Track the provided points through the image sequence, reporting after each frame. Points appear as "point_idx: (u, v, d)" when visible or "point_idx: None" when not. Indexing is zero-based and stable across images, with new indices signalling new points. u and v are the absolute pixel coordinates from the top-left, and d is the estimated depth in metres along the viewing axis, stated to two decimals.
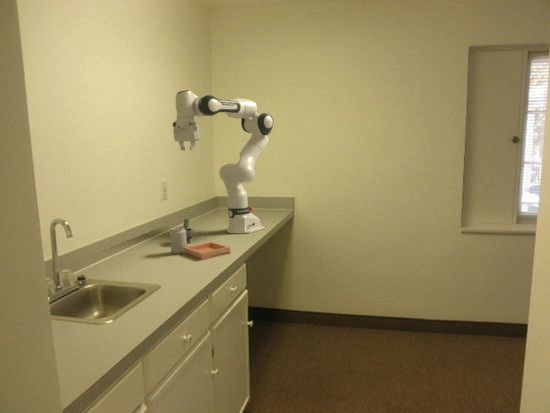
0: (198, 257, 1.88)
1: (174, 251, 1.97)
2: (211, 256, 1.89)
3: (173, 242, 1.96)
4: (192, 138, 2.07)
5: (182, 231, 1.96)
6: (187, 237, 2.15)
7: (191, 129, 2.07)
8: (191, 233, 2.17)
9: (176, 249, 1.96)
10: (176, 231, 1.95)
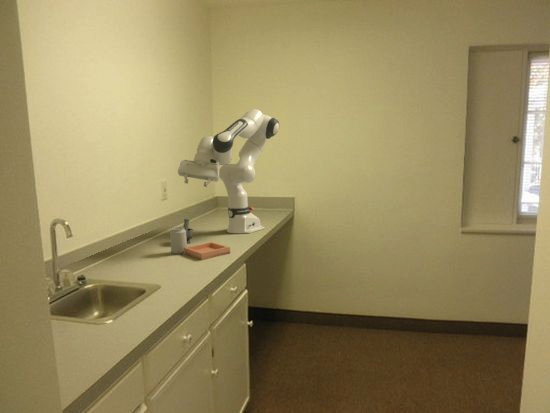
0: (198, 257, 1.88)
1: (174, 251, 1.97)
2: (211, 256, 1.89)
3: (173, 242, 1.96)
4: None
5: (182, 231, 1.96)
6: (187, 237, 2.15)
7: None
8: (191, 233, 2.17)
9: (176, 249, 1.96)
10: (176, 231, 1.95)
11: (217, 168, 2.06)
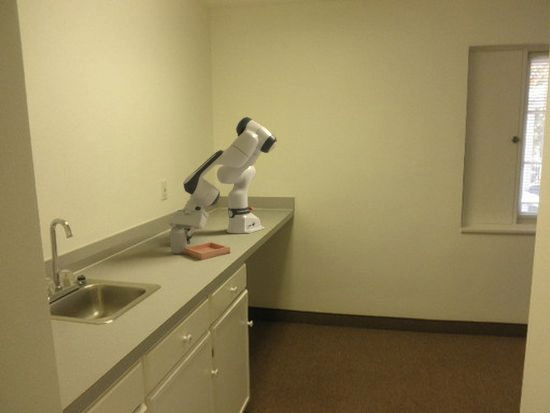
0: (198, 257, 1.88)
1: (174, 251, 1.97)
2: (211, 256, 1.89)
3: (173, 242, 1.96)
4: None
5: (182, 231, 1.96)
6: (187, 237, 2.15)
7: None
8: None
9: (176, 249, 1.96)
10: (176, 231, 1.95)
11: (200, 215, 1.99)
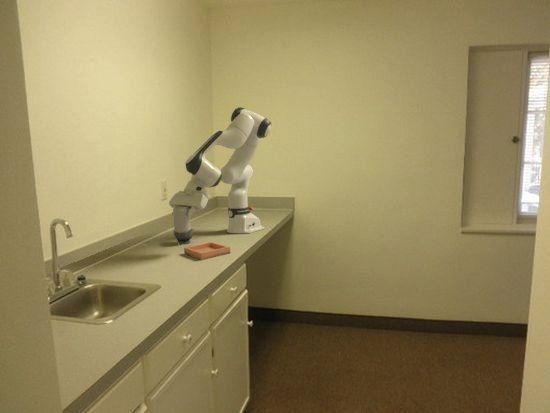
0: (198, 257, 1.88)
1: (177, 229, 1.94)
2: (211, 256, 1.89)
3: (176, 220, 1.94)
4: None
5: (185, 209, 1.94)
6: (187, 237, 2.15)
7: None
8: (191, 233, 2.17)
9: (179, 228, 1.94)
10: (179, 209, 1.93)
11: (201, 195, 1.95)
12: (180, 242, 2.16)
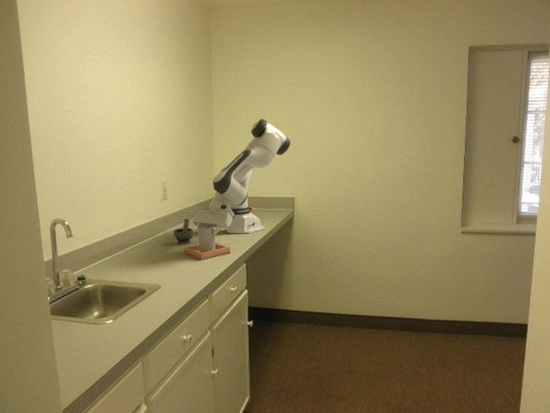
0: (198, 257, 1.88)
1: (202, 250, 1.93)
2: (211, 256, 1.89)
3: (202, 241, 1.92)
4: None
5: (211, 230, 1.92)
6: (187, 237, 2.15)
7: None
8: (191, 233, 2.17)
9: (205, 248, 1.92)
10: (205, 229, 1.91)
11: (226, 214, 1.94)
12: (180, 242, 2.16)
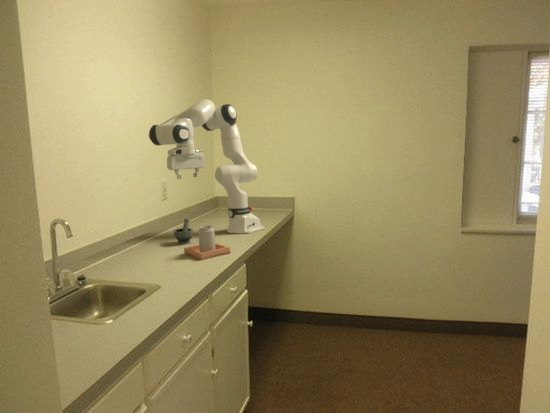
0: (198, 257, 1.88)
1: (202, 250, 1.93)
2: (211, 256, 1.89)
3: (202, 241, 1.92)
4: (203, 165, 2.16)
5: (211, 230, 1.92)
6: (187, 237, 2.15)
7: (202, 157, 2.16)
8: (191, 233, 2.17)
9: (205, 248, 1.92)
10: (205, 230, 1.91)
11: None
12: (180, 242, 2.16)
